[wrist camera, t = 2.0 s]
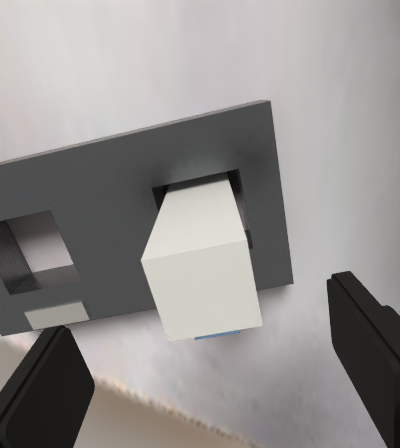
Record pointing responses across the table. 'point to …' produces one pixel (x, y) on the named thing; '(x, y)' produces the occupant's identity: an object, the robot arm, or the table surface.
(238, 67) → the table surface
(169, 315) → the plug
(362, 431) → the table surface
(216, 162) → the jack panel
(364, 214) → the table surface
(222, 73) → the table surface
